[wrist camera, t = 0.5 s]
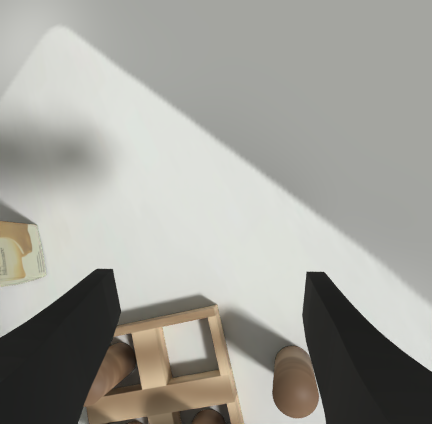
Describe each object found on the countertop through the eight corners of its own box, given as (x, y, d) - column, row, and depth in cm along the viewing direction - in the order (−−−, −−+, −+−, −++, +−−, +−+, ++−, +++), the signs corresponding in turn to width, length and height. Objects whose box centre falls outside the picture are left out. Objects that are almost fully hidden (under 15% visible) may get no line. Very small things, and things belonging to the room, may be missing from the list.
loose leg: (316, 379, 34) (324, 414, 27) (279, 386, 34) (278, 421, 28) (306, 342, 34) (312, 367, 28) (270, 349, 35) (267, 375, 28)
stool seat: (252, 460, 34) (244, 514, 28) (110, 479, 37) (70, 533, 30) (217, 304, 36) (201, 318, 29) (84, 332, 39) (41, 351, 32)
